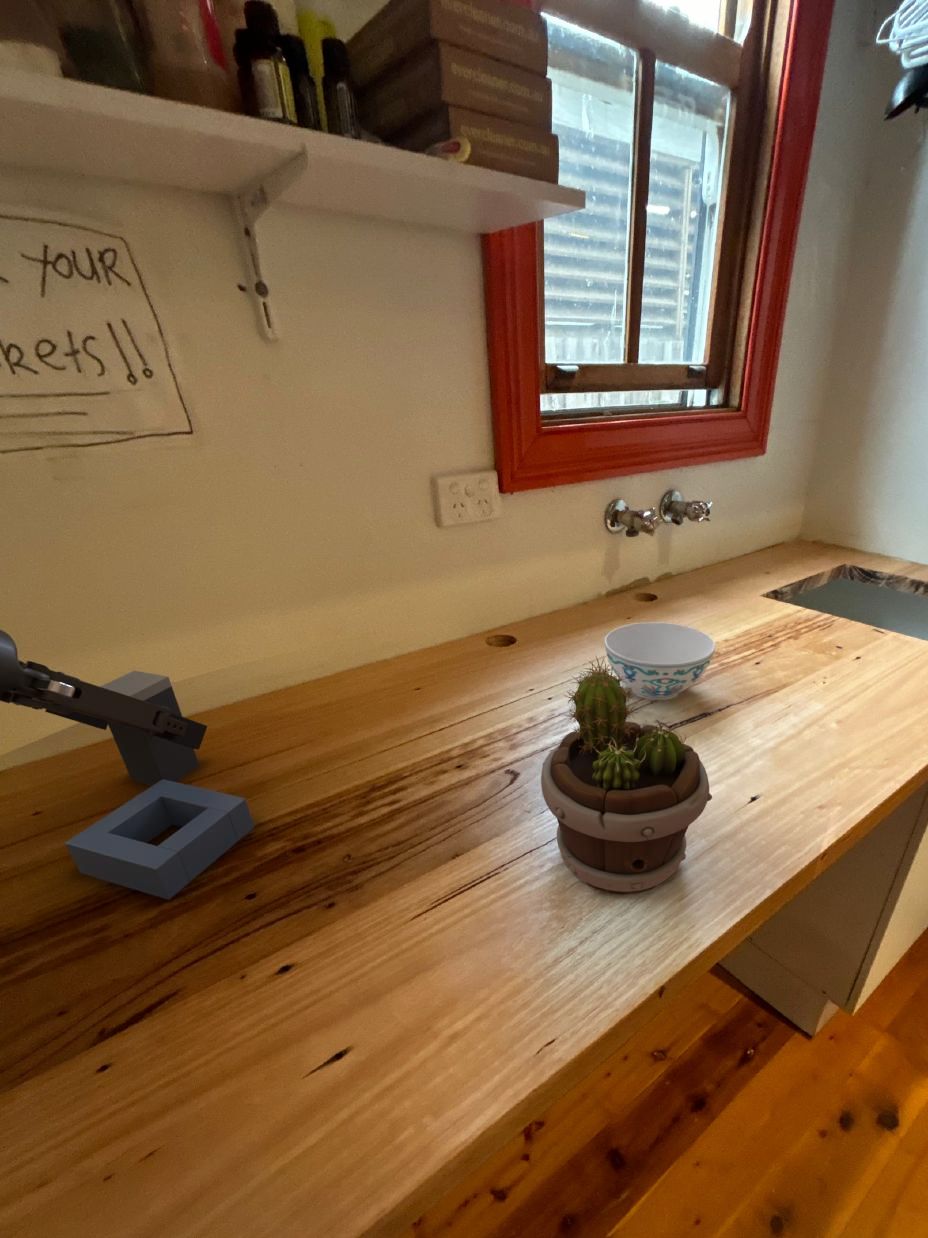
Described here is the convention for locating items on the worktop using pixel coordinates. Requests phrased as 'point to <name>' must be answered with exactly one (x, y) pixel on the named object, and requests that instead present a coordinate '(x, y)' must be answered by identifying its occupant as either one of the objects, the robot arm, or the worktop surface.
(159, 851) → the block
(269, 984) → the worktop surface
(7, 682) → the robot arm
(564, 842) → the flowerpot
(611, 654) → the chinaware
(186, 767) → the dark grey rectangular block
